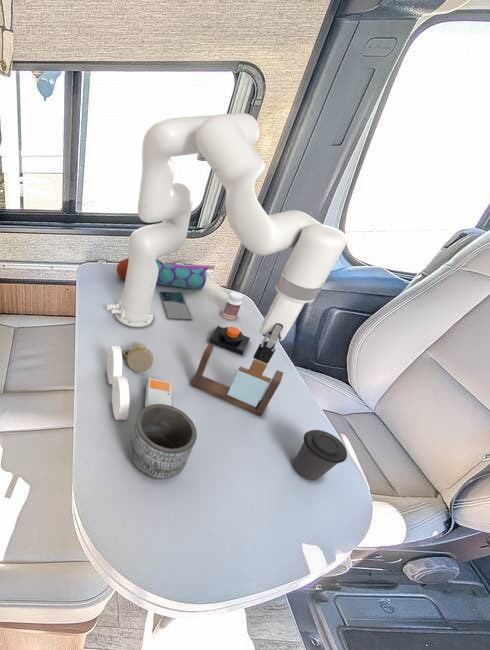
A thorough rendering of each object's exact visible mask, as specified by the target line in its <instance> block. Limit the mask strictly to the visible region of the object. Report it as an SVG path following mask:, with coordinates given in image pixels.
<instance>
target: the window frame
mask: <svg viewBox="0 0 490 650" xmlns="http://www.w3.org/2000/svg"><path fill="white" fill-rule="evenodd" d="M214 348H215V345H214V344H211V343H208V344H207V346H206V347H205V348H204V351H203V353H202V356H201V358H200V361H199V364H198V366H197V369H196V371H195V375H194V376H193V377H194V378H193V380H192V382H191V387H193V388H195V389H198V390H199V391H203V392H204V393H207V394H209V395H211V396H213V397H216V398H218V399H221V400H222V401H225V402H227V403H228V404H231V405H233V406H236V407H238V408H240V409H242V410H245V411H247V412H249V413H251V414H254V415H256V416H258V417H262V416H263V414H264V412H265V411H266V409H267V407H268V405H269V403H270V402H271V400H272V398H273V397H274V395H275V393H276V391H277V390H278V388H279V386H280V384H281V382H282V379H283V376H284V372H283V371H281V370H276V371H275V373H274V374H273V376H272V378H271V377H269V378H270V379H271V380H270V382H269V384H268V386H267V388H266V390H265V391H264V393H263V395H262V397H261V399H260V401H259V402H258V404H257V406H256V407H254V406H252V405H249V404H247V403H245V402H242V401H240V400H238V399H236V398H233V397H231V396H229V395H227V394H228V391H229V389H230V387H231V386H230V387H229V386H227V385H225V384H222V383H221V382H218V381H215V380H213V379H211V378H209V377H207V376H204V374H205V372H206V369H207V366H208V364H209V361H210V358H211V356H212V353H213V351H214ZM264 376H265V377H267V376H266V375H264Z"/></svg>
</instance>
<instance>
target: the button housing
mask: <svg viewBox="0 0 490 650" xmlns="http://www.w3.org/2000/svg"><path fill="white" fill-rule="evenodd" d="M228 327H229V326H225V327H222V326H219V325H217V327H215V330H214V332H213V334H212V335H211V337H210V339H209V342H208V344H211V345H214V346H217V347H219V348H222V349H224V350H227V351H229V352H231V353H235V354H237V355H239V356H243V354H244V352H245V351H246V348H247V346H248V344H249V342H250V339H251V337H250V336H246V335H244V334H243V332H242V331H240V333H239V336H238V337H237V338H232V337H229V336H228V335H226V331H227V329H228Z"/></svg>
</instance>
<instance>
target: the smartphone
mask: <svg viewBox="0 0 490 650" xmlns="http://www.w3.org/2000/svg"><path fill="white" fill-rule="evenodd" d="M160 297H161V300H162V303H163V306H164V310H165V313H166V316H167V319H171V320H173V319H174V320H189V321H191V320H192V318H191V315H190V313H189V310H188V307H187V304H186V303H185V302H186V301H185V300H184V297H183V294H182V292H173V291H172V292H171V291H160Z"/></svg>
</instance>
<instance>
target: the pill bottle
mask: <svg viewBox="0 0 490 650" xmlns="http://www.w3.org/2000/svg"><path fill="white" fill-rule="evenodd" d="M243 298H244V295H243V294H241V293H240V292H237V291H232V292H229V295H228V297H227V298H226V299H225V302H224V305H223V308H222V310H221V316H222V318H224V319H227V320H235V319H236V318H237V316H238V314H239V312H240V308H241V307H242V302H243V301H242V300H243Z"/></svg>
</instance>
